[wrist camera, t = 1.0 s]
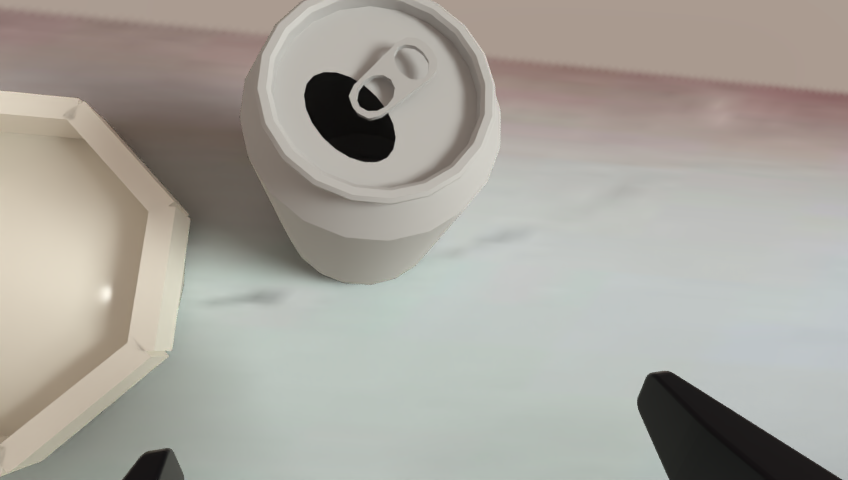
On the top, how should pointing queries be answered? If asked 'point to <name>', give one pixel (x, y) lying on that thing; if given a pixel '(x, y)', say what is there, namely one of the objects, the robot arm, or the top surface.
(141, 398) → the top surface
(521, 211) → the top surface
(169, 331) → the bowl
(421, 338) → the top surface
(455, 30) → the can
